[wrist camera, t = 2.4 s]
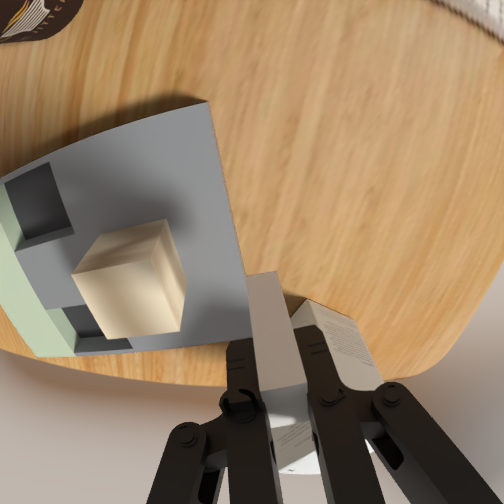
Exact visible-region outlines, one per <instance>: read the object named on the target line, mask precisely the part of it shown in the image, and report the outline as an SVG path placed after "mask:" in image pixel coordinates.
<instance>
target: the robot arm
mask: <svg viewBox="0 0 504 504" xmlns="http://www.w3.org/2000/svg"><path fill="white" fill-rule="evenodd" d="M246 286H247V294H248V302H249V310H250V318H251V326H252V334H253V337H252V338H247V339H241V340H235V341H230V344H229V346H228V348H227V350H226V362H227V363H226V367H227V391H226V392H224V394H223V395H222V397H221V398H220V402H219V406H220V408H221V410H222V412H223V413H222V414H221V415H220V416H219V417H218V418H216V419H214V420H212V421H209V422H207V423H204V424H202V425H199V424H197V423H194V422H184V423H182V424H179V425H177V426H176V427H175V428H174V429H173V430H172V432H171V433H170V435H169V438H168V441H167V444H166V447H165V450H164V452H163V456H162V458H161V461H160V464H159V467H158V470H157V473H156V476H155V479H154V482H153V485H152V488H151V491H150V494H149V497H148V500H147V503H146V504H217V501H218V497H219V492H220V488H221V484H222V479H223V474H224V471H225V467H228V481H229V494H230V504H283V498H282V492H281V486H280V480H279V473H278V466H277V460H276V454H275V447H274V441H273V438H272V433H271V428H274V427H280V426H285V425H291V424H296V423H300V422H305V421H309V419H310V424H311V428H312V441H314V445H315V450H316V454H317V458H318V463H319V467H320V472H321V476H322V480H323V485H324V489H325V494H326V498H327V503H328V504H385V501H384V497H383V494H382V491H381V488H380V485H379V481H378V478H377V475H376V471H375V468H374V465H373V462H372V459H371V456H370V453H369V450H368V447H367V444H366V441H365V439H366V440H367V441H368V443H369V444H370V446H371V447H372V449H373V450H374V451H375V453H376V454H377V456H378V457H379V459H380V460H381V461H382V463H383V464H384V466H385V467H386V469H387V470H388V472H389V473H390V474H391V476H392V477H393V479H394V480H395V482H396V483H397V484H398V486H399V487H400V489H401V490H402V492H403V493H404V495H405V496H406V497H407V499H408V500H409V502H410V503H411V504H503V503H502V502H501V501H500V499H499V498H498V497H497V496H496V494H495V493H494V492H493V491H492V489H491V488H490V487H489V486H488V484H487V483H486V482H485V481H484V479H483V478H482V477H481V476H480V475H479V473H478V472H477V471H476V470H475V468H474V467H473V466H472V465H471V463H470V462H469V461H468V460H467V459H466V457H465V456H464V455H463V454H462V453H461V451H460V450H459V449H458V448H457V447H456V445H455V444H454V443H453V442H452V441H451V440H450V438H449V437H448V436H447V435H446V433H445V432H444V431H443V430H442V429H441V427H440V426H439V425H438V424H437V423H436V422H435V420H434V419H433V418H432V417H431V416H430V415H429V413H428V412H427V411H426V410H425V409H424V408H423V407H422V405H421V404H420V403H419V402H418V401H417V399H416V398H415V397H414V396H413V395H412V394H411V393H410V392H409V390H408V389H407V388H406V387H405V386H403V385H402V384H400V383H397V382H386V383H384V384H381V385H380V386H379V387H377V388H376V389H375V390H367V391H361V390H354V389H351V388H349V387H347V386H346V385H345V384H344V383H343V382H342V381H341V379H340V377H339V375H338V372H337V369H336V366H335V364H334V361H333V358H332V355H331V353H330V351H329V347H328V345H327V343H326V339H325V337H324V334H323V331H321V330H320V329H319V328H318V327H317V326H316V325H315V324H313V325H309V326H304V327H300V328H295V329H293V328H292V324H291V321H290V317H289V314H288V310H287V306H286V303H285V299H284V296H283V292H282V289H281V285H280V282H279V278H278V275H277V271H272V272H267V273H262V274H257V275H252V276H247V277H246Z"/></svg>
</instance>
